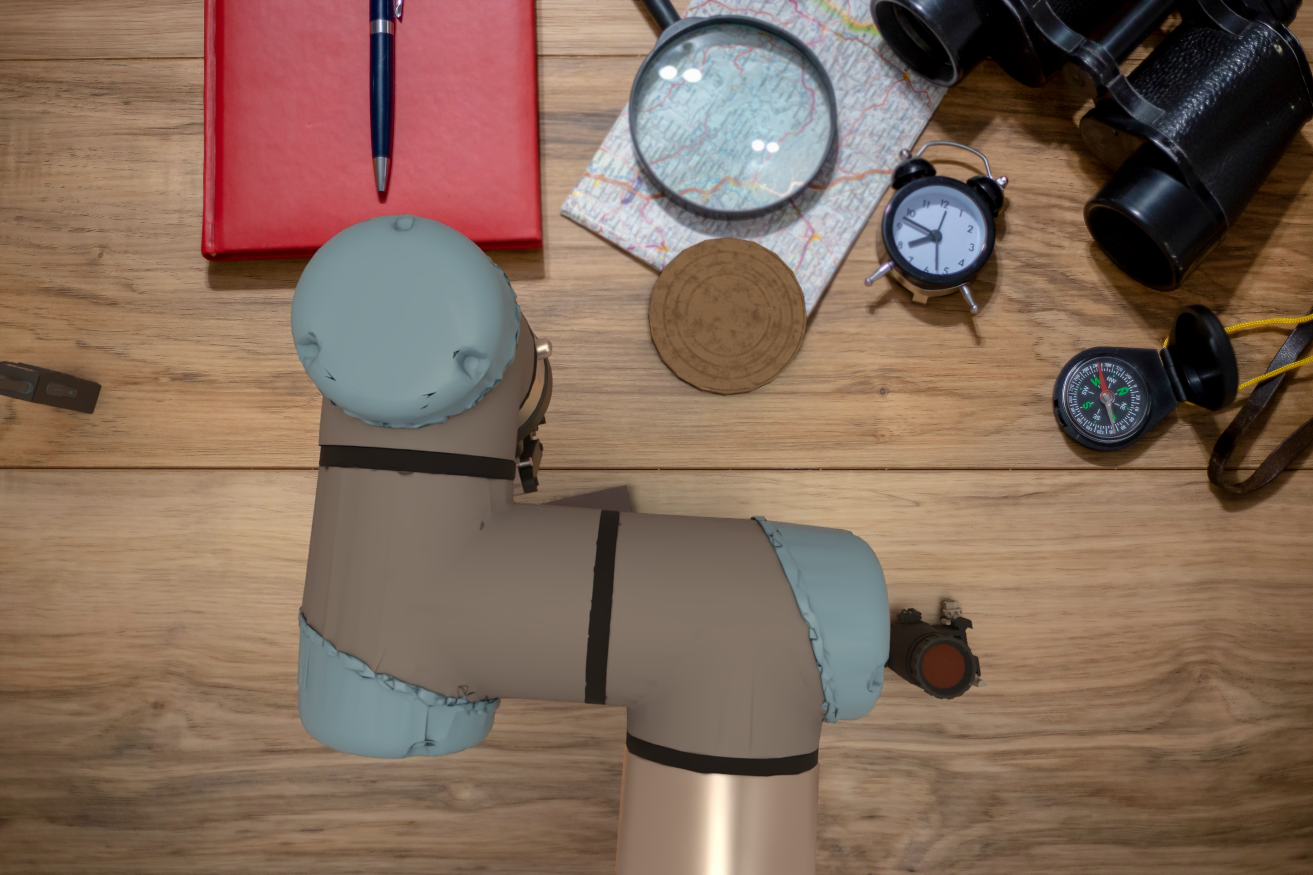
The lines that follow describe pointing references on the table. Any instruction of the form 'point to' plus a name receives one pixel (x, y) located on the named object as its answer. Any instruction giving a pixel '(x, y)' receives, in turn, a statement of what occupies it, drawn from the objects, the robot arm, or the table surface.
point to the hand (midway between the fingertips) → (527, 417)
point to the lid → (599, 500)
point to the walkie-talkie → (48, 387)
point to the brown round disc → (727, 316)
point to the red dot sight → (934, 653)
